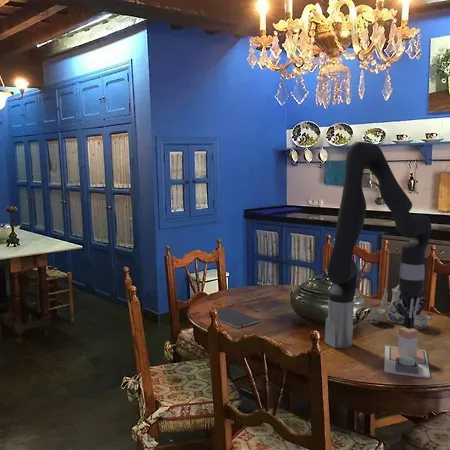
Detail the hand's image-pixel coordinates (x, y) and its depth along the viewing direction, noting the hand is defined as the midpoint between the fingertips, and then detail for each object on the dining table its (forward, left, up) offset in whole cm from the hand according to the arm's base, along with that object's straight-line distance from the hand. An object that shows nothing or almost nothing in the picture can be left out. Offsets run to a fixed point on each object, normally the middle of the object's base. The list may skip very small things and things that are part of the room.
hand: (409, 328), depth 167 cm
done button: (0, 0, -13) cm, 13 cm away
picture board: (+5, +5, -15) cm, 16 cm away
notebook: (-30, +71, -15) cm, 79 cm away
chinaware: (+31, +37, -15) cm, 51 cm away
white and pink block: (+8, +8, -14) cm, 18 cm away
